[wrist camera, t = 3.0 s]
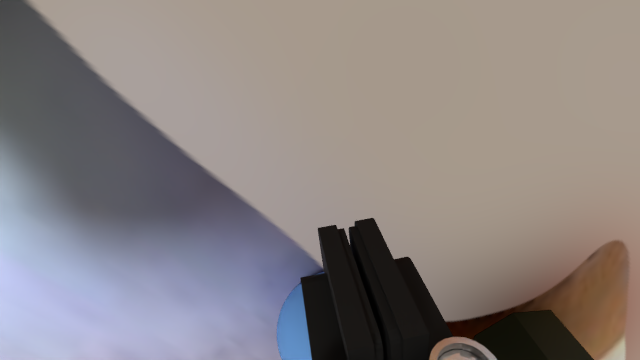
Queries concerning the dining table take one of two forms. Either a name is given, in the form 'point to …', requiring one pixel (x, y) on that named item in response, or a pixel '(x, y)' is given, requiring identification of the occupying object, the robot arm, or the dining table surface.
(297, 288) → the ball
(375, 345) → the robot arm
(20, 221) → the dining table surface
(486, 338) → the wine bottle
